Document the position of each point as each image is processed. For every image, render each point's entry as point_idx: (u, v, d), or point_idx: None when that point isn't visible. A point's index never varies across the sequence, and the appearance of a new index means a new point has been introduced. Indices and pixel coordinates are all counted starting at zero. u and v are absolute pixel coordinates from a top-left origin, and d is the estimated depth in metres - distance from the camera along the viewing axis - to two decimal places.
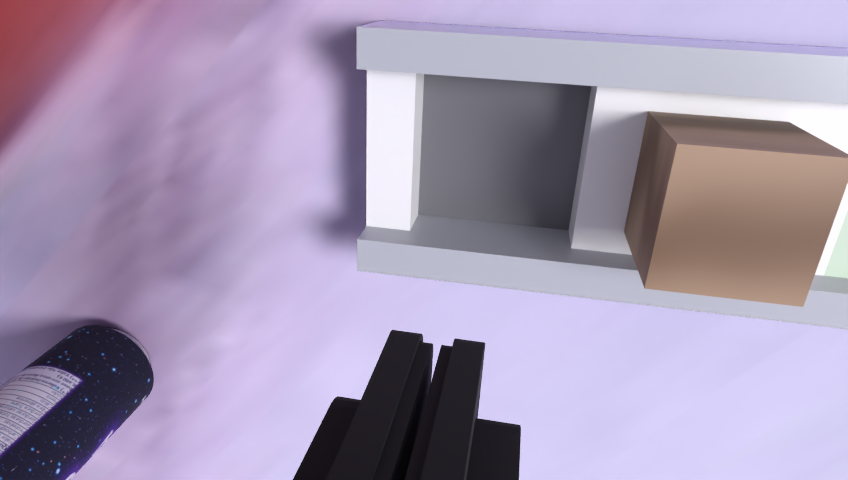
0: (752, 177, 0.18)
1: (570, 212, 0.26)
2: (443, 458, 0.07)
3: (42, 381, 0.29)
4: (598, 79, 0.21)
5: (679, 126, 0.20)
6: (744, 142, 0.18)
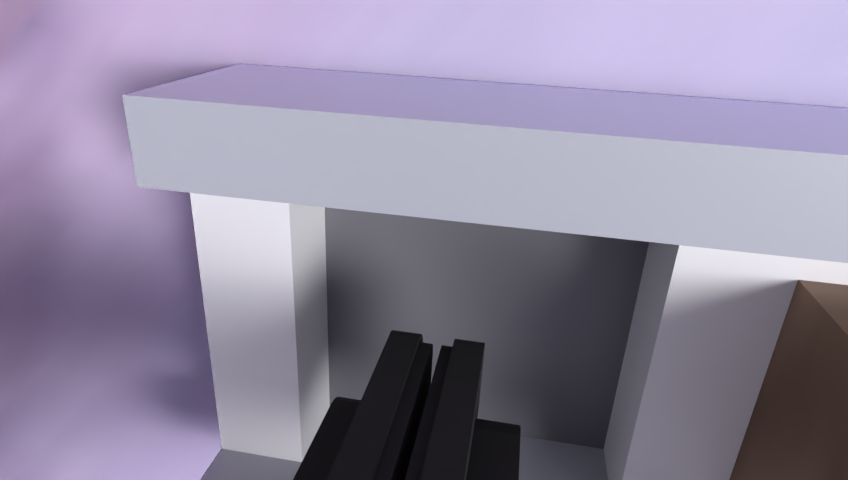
0: None
1: (608, 421, 0.14)
2: (443, 458, 0.07)
3: None
4: (702, 231, 0.08)
5: None
6: None
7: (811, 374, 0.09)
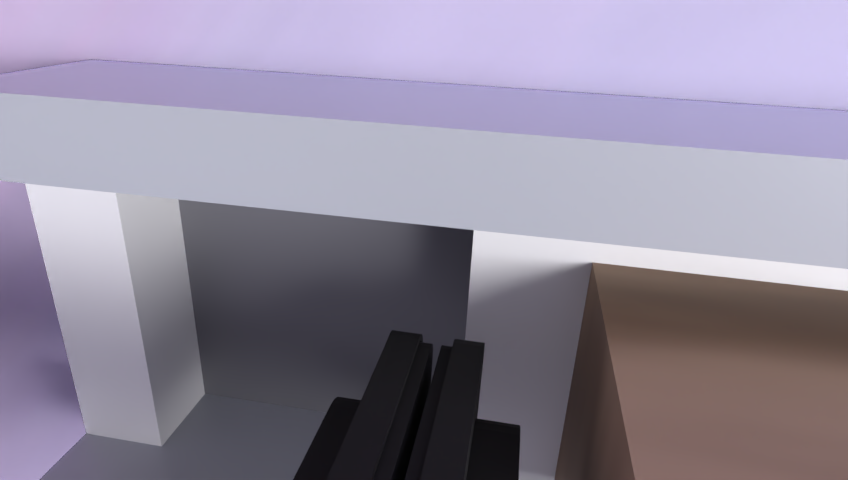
0: None
1: None
2: (443, 458, 0.07)
3: None
4: (455, 213, 0.09)
5: (654, 342, 0.08)
6: (836, 446, 0.06)
7: (589, 352, 0.09)
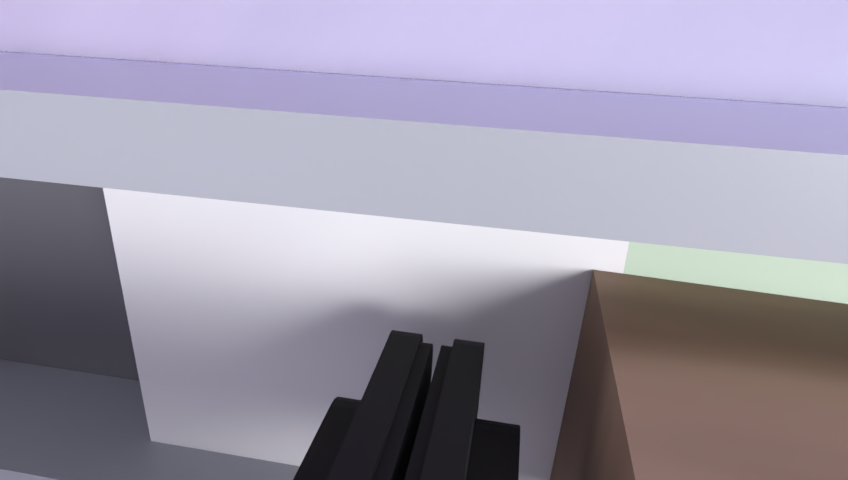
0: None
1: None
2: (443, 458, 0.07)
3: None
4: (23, 166, 0.10)
5: (654, 351, 0.08)
6: (832, 458, 0.06)
7: (588, 358, 0.10)
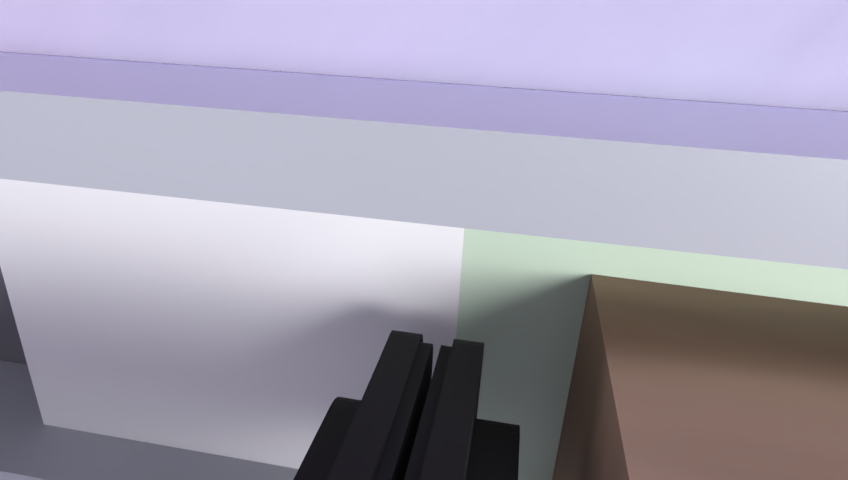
0: None
1: None
2: (442, 458, 0.07)
3: None
4: None
5: (651, 356, 0.08)
6: (830, 464, 0.06)
7: (587, 363, 0.10)
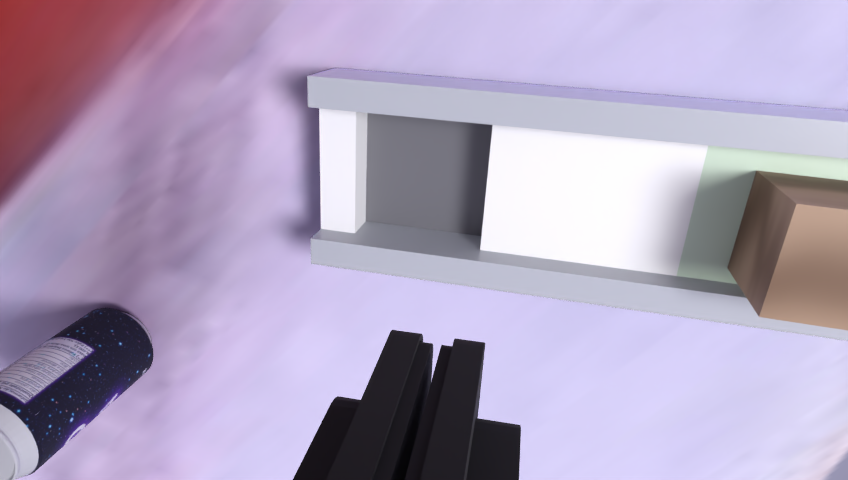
0: None
1: None
2: (443, 458, 0.07)
3: (62, 349, 0.36)
4: (486, 119, 0.27)
5: (789, 186, 0.25)
6: None
7: (758, 199, 0.26)
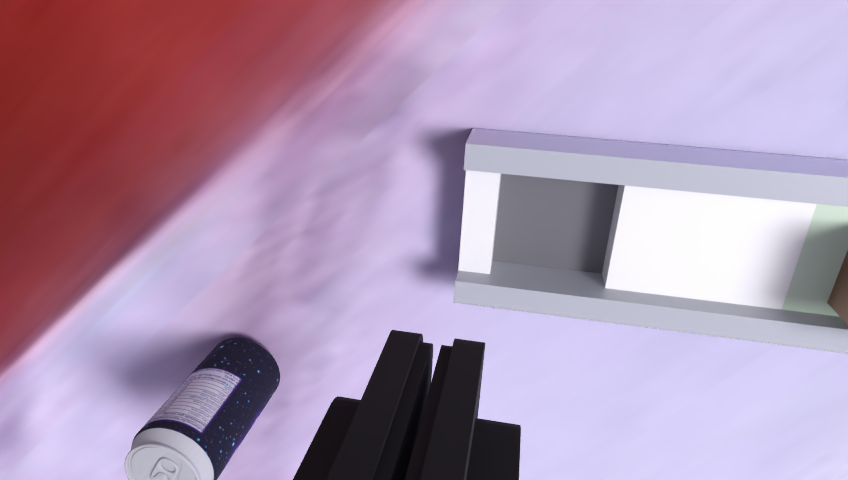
0: None
1: (603, 261, 0.37)
2: (443, 458, 0.07)
3: (216, 379, 0.40)
4: (627, 181, 0.31)
5: None
6: None
7: None
